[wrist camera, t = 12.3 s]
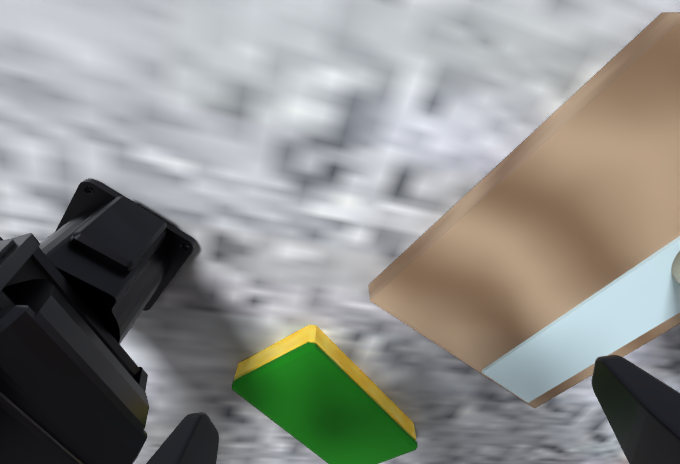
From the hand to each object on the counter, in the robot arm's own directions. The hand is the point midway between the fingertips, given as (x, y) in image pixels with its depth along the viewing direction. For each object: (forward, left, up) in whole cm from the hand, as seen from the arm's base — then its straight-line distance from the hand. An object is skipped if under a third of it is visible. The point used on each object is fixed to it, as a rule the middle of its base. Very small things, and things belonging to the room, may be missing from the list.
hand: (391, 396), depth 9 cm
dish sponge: (-15, -10, -14) cm, 23 cm away
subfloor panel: (+4, -13, -13) cm, 19 cm away
